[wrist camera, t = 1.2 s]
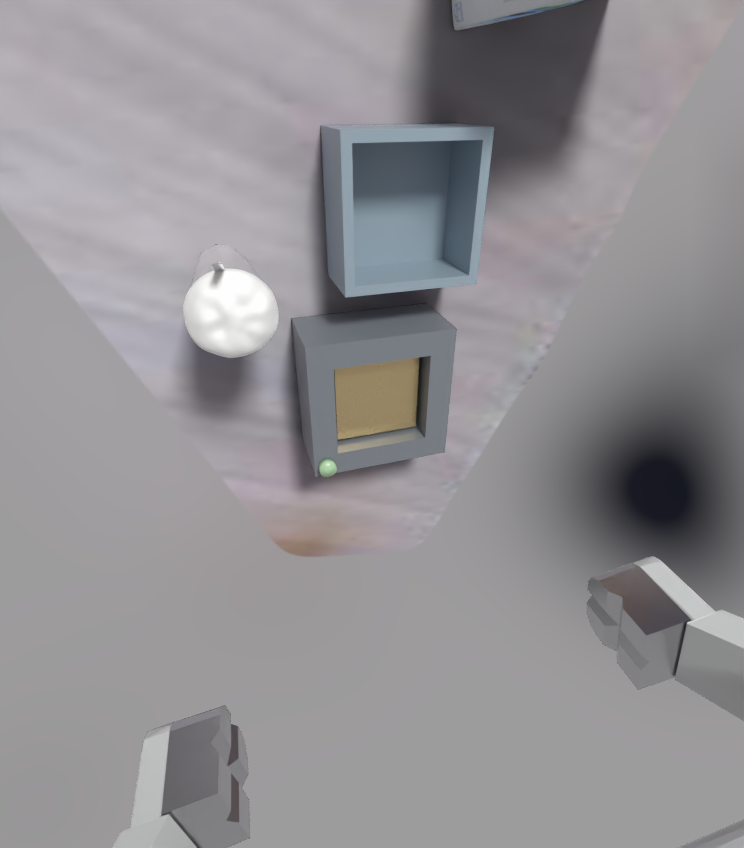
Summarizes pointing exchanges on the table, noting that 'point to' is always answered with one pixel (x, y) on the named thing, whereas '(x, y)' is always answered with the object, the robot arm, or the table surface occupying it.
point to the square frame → (361, 345)
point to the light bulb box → (499, 10)
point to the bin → (404, 205)
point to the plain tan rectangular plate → (376, 397)
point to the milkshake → (229, 305)
